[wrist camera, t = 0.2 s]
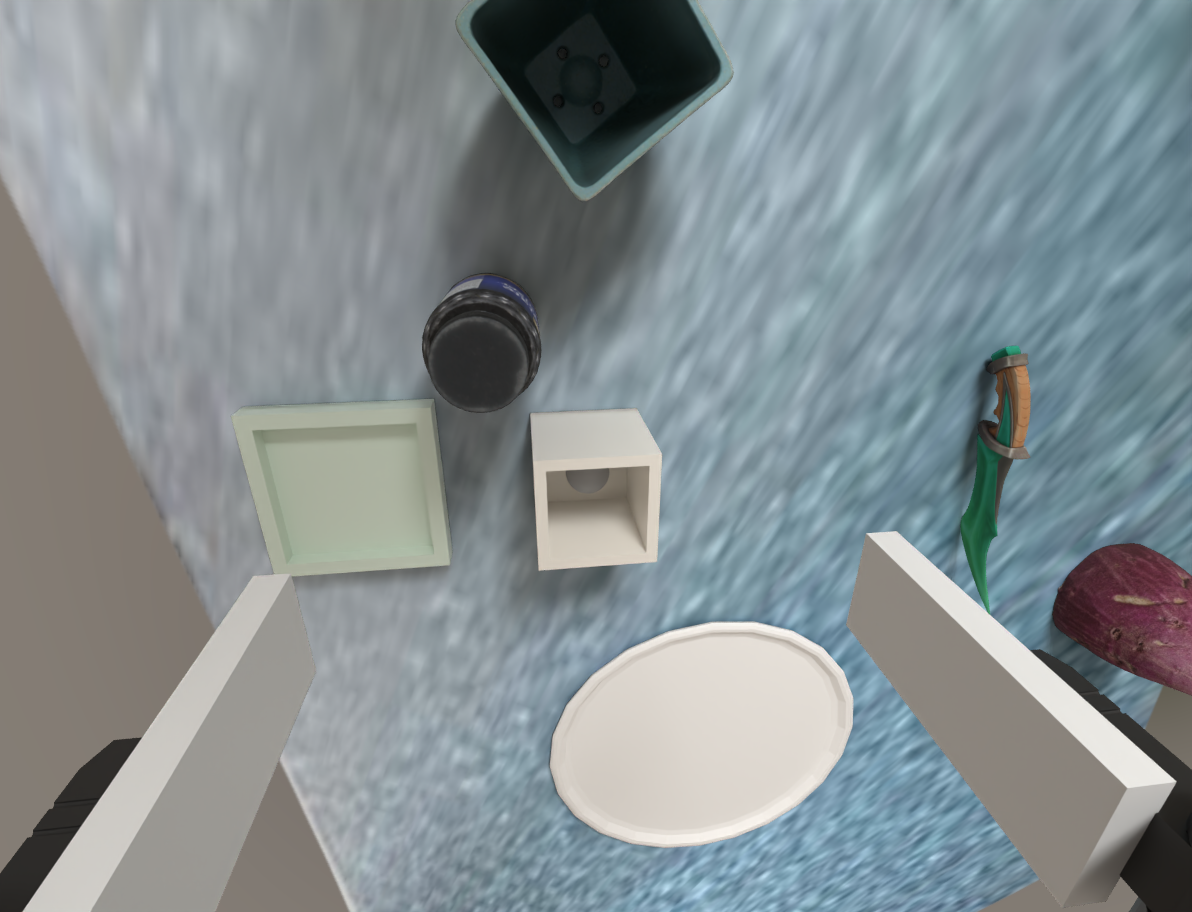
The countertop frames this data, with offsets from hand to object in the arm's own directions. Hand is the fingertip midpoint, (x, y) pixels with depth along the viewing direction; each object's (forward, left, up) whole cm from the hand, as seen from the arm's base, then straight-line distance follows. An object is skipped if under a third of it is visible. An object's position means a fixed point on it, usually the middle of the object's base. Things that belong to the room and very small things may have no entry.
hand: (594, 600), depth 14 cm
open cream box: (+9, +3, -27) cm, 29 cm away
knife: (+12, +34, -28) cm, 45 cm away
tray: (+10, -13, -27) cm, 32 cm away
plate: (+39, +14, -28) cm, 50 cm away
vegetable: (+25, +51, -28) cm, 63 cm away
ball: (+9, +3, -27) cm, 28 cm away
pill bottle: (-1, -3, -27) cm, 28 cm away
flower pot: (-14, +3, -27) cm, 31 cm away
